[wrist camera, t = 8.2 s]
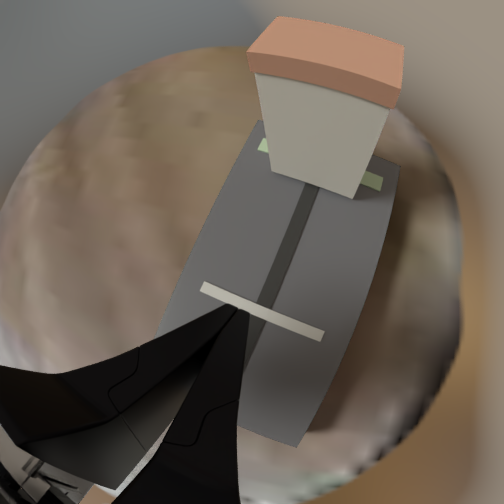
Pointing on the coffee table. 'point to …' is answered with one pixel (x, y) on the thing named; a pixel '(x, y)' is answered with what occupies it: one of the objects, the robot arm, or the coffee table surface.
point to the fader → (324, 98)
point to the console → (286, 280)
